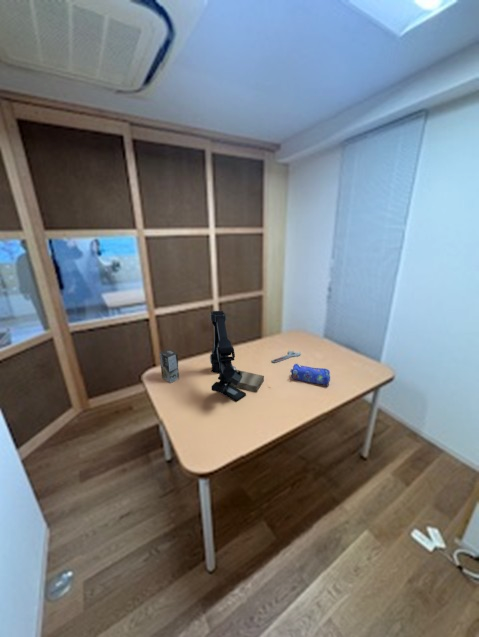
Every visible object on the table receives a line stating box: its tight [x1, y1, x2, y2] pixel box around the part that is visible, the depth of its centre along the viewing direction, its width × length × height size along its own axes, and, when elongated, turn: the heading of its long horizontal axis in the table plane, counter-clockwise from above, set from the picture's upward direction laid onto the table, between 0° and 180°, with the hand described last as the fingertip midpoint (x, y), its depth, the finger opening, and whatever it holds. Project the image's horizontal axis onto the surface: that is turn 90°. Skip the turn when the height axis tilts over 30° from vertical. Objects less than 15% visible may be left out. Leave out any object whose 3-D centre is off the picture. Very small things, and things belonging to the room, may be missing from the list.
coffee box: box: [159, 349, 180, 384], centre depth 148 cm, size 9×6×16 cm
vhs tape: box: [221, 385, 247, 403], centre depth 137 cm, size 8×14×2 cm, turn 48°
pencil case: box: [289, 363, 331, 386], centre depth 148 cm, size 22×9×10 cm, turn 70°
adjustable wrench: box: [271, 350, 302, 364], centre depth 178 cm, size 8×26×2 cm, turn 120°
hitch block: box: [230, 369, 265, 393], centre depth 147 cm, size 22×12×4 cm, turn 67°
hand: (225, 394), depth 134 cm, fingers closed
